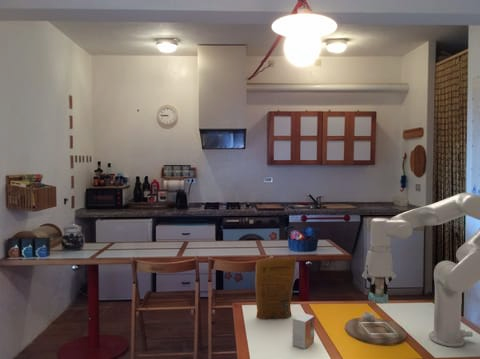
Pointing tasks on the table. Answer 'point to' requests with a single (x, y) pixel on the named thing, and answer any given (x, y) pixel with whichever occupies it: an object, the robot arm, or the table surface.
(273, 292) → the pancake mix bag
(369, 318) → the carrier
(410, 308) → the table surface
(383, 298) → the gear
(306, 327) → the small box
